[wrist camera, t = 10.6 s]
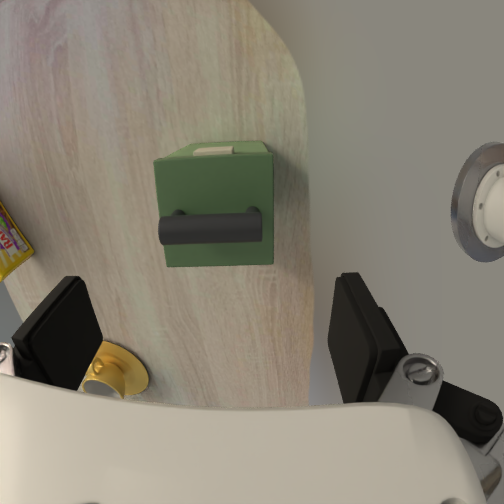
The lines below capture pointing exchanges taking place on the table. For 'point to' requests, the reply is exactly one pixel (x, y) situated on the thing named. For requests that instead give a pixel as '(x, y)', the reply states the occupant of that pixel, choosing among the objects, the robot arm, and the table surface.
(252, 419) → the robot arm
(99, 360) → the cup
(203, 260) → the lunchbox
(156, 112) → the table surface
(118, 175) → the table surface
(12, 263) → the candy box
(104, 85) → the table surface
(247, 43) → the table surface
